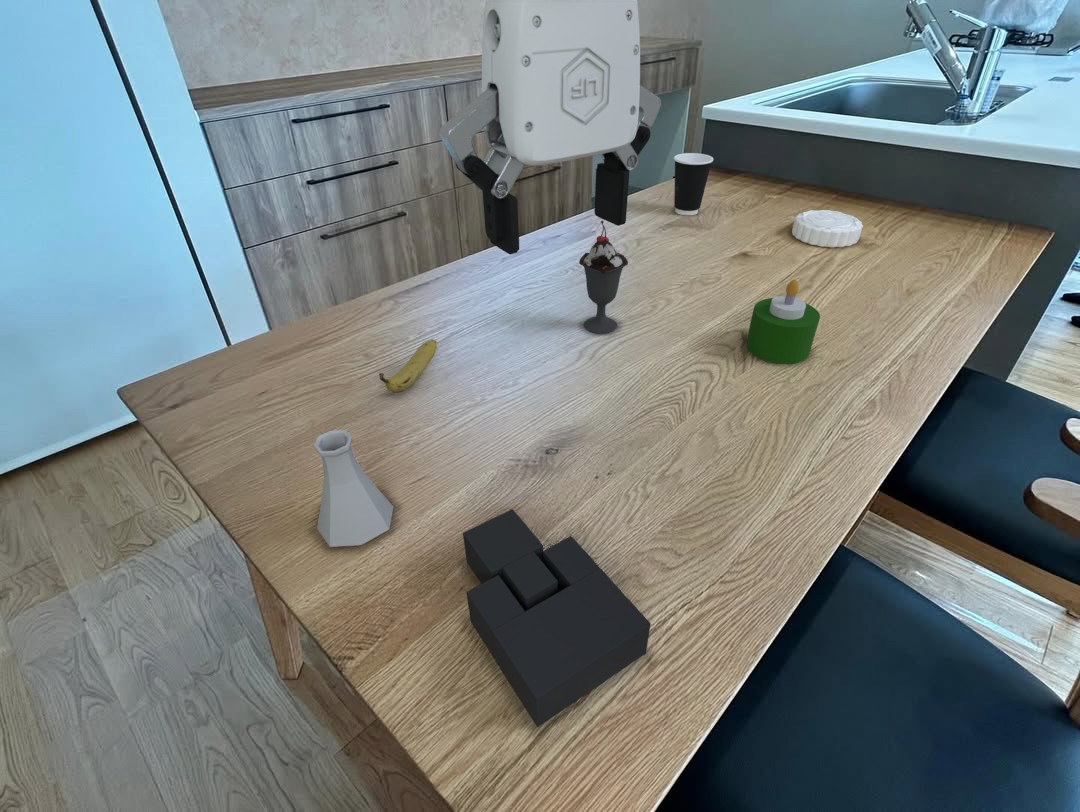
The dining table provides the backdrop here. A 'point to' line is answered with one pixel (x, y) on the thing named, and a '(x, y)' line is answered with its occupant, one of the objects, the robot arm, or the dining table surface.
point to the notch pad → (560, 632)
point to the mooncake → (827, 228)
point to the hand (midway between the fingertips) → (559, 233)
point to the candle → (782, 328)
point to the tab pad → (510, 558)
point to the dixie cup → (690, 181)
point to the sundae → (602, 281)
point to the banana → (411, 368)
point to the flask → (348, 495)
